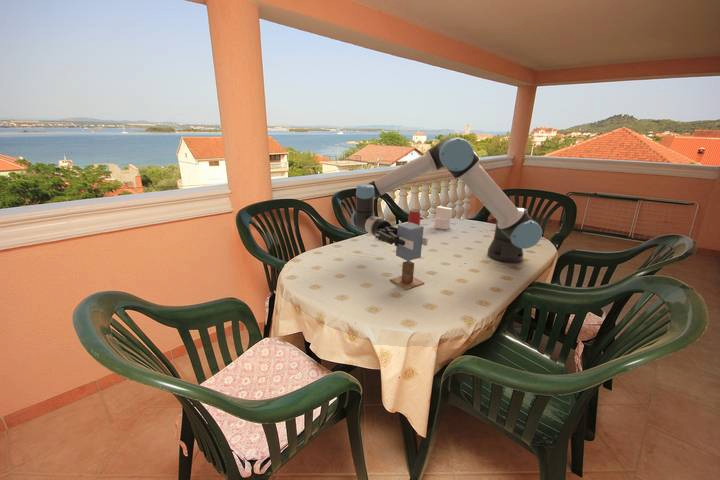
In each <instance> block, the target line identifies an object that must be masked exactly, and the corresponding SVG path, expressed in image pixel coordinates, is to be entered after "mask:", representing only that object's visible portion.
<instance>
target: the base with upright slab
mask: <svg viewBox="0 0 720 480" xmlns="http://www.w3.org/2000/svg"><path fill="white" fill-rule="evenodd" d="M435 210H436V211H435V219H434V228H435V227H436V228H435V229H437V228H441V229H440V230H443V229H446V230H449V229H448V228H450V229H451V224H452V223H451V222H452V221H451V220H452V214H453V213H452V211H453V208H452V207H445V206H441V205H440V206H439V205H438V206H436V209H435Z"/></svg>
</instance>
